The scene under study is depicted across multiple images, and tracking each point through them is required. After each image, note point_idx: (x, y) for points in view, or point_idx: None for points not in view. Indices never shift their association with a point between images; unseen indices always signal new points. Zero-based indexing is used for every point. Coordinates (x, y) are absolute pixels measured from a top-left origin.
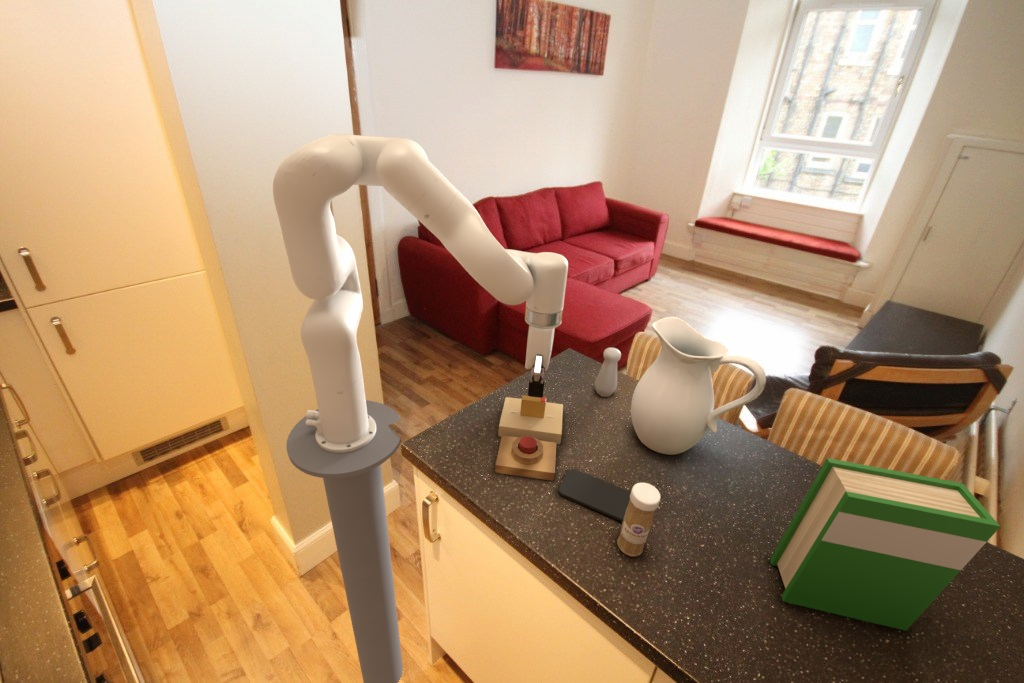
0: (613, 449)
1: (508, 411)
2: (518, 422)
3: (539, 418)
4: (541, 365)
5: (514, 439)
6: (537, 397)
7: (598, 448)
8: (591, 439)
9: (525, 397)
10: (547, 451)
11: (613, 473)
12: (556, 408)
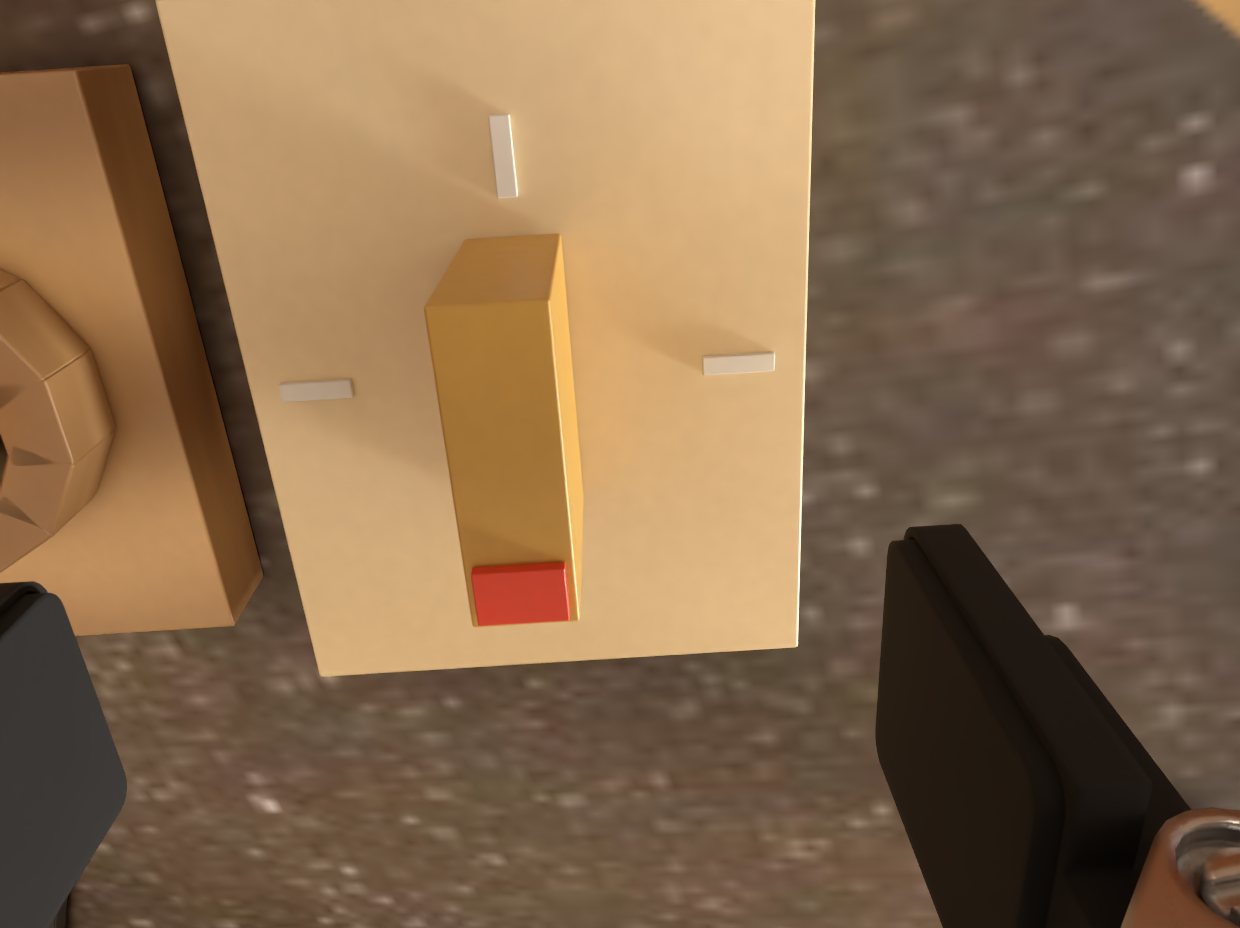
0: (446, 919)
1: (491, 70)
2: (322, 243)
3: None
4: (929, 805)
5: (77, 236)
6: (554, 517)
7: (419, 842)
8: (504, 800)
9: (497, 355)
10: (79, 569)
11: (208, 922)
12: (708, 598)
